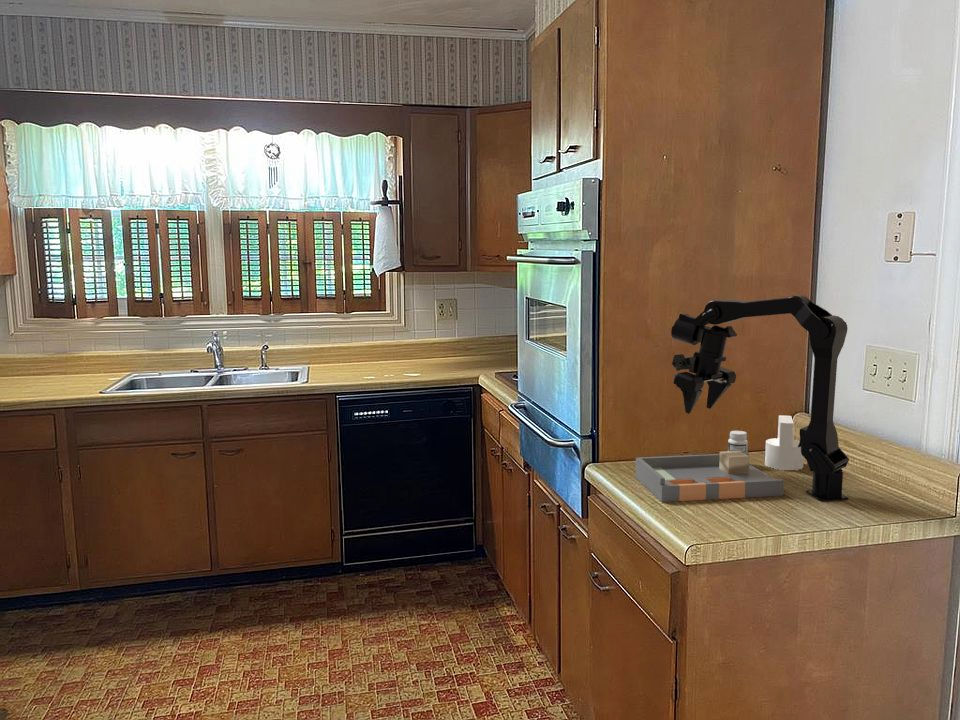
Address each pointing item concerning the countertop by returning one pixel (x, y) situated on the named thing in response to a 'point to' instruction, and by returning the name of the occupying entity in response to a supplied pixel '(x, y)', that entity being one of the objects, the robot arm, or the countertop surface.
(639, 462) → the grey tray
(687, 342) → the robot arm
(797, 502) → the countertop surface
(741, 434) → the pill bottle
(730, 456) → the birch block
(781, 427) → the base with upright slab
